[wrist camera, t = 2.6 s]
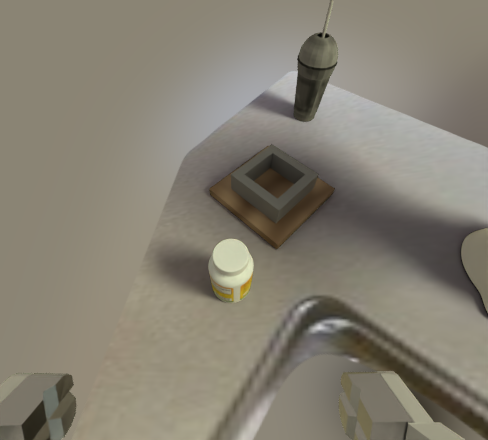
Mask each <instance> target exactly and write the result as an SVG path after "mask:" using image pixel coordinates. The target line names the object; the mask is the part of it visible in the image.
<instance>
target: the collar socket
mask: <svg viewBox="0 0 488 440" xmlns="http://www.w3.org/2000/svg"><path fill="white" fill-rule="evenodd" d="M318 175H319V174H317V173H316V172H314V171H313V170H311V169H309V168H308V167H306V166H305V165H303V164H302V163H300V162H298V161H297V160H295V159H294V158H292V157H291V156H289V155H288V154H286V153H284V152H283V151H281V150H280V149H278V148H277V147H275V146H273V145H272V144H271V145H270V146H267V147H266V148H264V149H263V150H262V151H260V152H259V153H258V154H256V155H255V156H254V157H252V158H251V159H249V160H248V161H247V162H245V163H244V164H243V165H241V166H240V167H238V168H237V169H236V170H234V171H233V172H232V173H230V174H229V175H228V176H226V177H225V178H223V179H222V180H221V181H219V182H218V183H217V184H215V185H214V186H212V187H211V188H210V189H209V190H210V195H211V196H213V197H214V198H215V199H216V200H218V201H219V202H220V203H221V204H222V205H224V206H225V207H226V208H227V209H228V210H230V211H231V212H232V213H233V214H234V215H236V216H237V217H238V218H239V219H240V220H242V221H243V222H244V223H245V224H247V225H248V226H249V227H250V228H251V229H253V230H254V231H255V232H256V233H257V234H259V235H260V236H261V237H262V238H263V239H265V240H266V241H267V242H268V243H269V244H271V245H272V246H273V247H274V248H276V249H278V248H279V247H280V246H281V245H282V244H283V243H284V242H285V241H286V240H287V239H288V238H289V237H290V236H291V235H292V234H293V233H294V232H295V231H296V230H297V229H298V228H299V227H300V226H301V225H302V224H303V223H304V222H305V221H306V220H307V219H308V218H309V217H310V216H311V215H312V214H313V213H314V212H315V211H316V210H317V209H318V208H319V207H320V206H321V205H322V204H323V203H324V202H325V201H326V200H327V199H328V198H329V197H330V196H331V195H332V194H333V192H334V189H335V188H333V187H331V186H330V185H328V184H327V183H325V182H324V181H322V180H321V179H319V178H318Z"/></svg>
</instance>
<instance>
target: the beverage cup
mask: <svg viewBox="0 0 488 440" xmlns="http://www.w3.org/2000/svg"><path fill="white" fill-rule="evenodd" d="M333 1H334V0H330V5H329V9H328V13H327V17H326V21H325V25H324V29H323V33H316V34H314V35H312V36H310V37H309V38H308V39H307V40H306V41H305V42H304V44H303V45H302V47H301V50H300V53H299V55H298V59H297V60H298V77H297V86H296V95H295V104H294V117H295V118H296V119H297V120H299V121H304V122H307V121H311V120H312V119H313V118H314V115H315V113H316V112H317V109H318V107H319V104H320V101H321V99H322V96H323V94H324V91H325V88H326V86H327V83H328V81H329V78H330V76H331V74H332V72H333V70H334V68H335V66H336V64H337V59H338V47H337V44H336V41H335V40H334V38H333V37H332V36H331V35H329V34H327V33H326V29H327V25H328V21H329V17H330V14H331V9H332V5H333Z"/></svg>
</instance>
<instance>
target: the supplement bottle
mask: <svg viewBox="0 0 488 440" xmlns="http://www.w3.org/2000/svg"><path fill="white" fill-rule="evenodd" d="M253 268H254V264H253V259H252V257H251V255H250V253H249V252H248V249H247V247H246V246H245V244H244V243H242V242H241V241H239V240H236V239H225V240H223V241H221V242H219V243H218V244H217V245H216V246H215V248H214V250H213V254H212V255H211V257H210V260H209V264H208V270H209V275H210V279H211V284H212V288H213V291H214V293H215V295H216V296H217V297H218V298H219V299H220V300H222V301H224V302H227V303H235V302H238V301H240V300H242V299H244V298H245V297H246V295H247V294H248V292H249V290H250V287H251V281H252V274H253Z"/></svg>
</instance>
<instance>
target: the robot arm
mask: <svg viewBox="0 0 488 440" xmlns="http://www.w3.org/2000/svg"><path fill="white" fill-rule="evenodd" d="M461 257H462V262H463V265H464V268H465V270H466V272H467V274H468V276H469V277H470V279H471V281H472V282H473V283H474V285H475V286H476V288H477V289H478V291H479V292H480V294H481V296H482V299H483V303H484V306H485V309H486V311H487V313H488V228H485V229H481V230H477V231H474V232H472V233H471V234H469V235H468V236H467V237H466V238H465V240H464V242H463V244H462V248H461ZM73 385H74V384H73V379H72V376H71V375H69V374H53V373H34V374H31V373H16V374H14V375H12V376H10V377H9V378H7V379H6V380H5V381H4V382H3V383H2V384H1V385H0V440H61V439H62V438H64V437H65V435H66V433H67V432H68V430H69V428H70V427H71V425H72V422H73V419H74V416H75V414H76V398H75V396H74V395H72V393H71V392H70V389H71V388H72V387H73ZM341 385H342V387H343V389H344V391H343V392H342V393H341V394H340V395H339V412H340V418H341V422H342V426H343V428H344V431H345V433H346V435H347V436H348V437H349V438H351V439H352V440H465V439H464V438H462V437H461V436H459V435H457V434H456V433H455V432H453V431H452V430H450V429H449V428H447V427H446V426H444V425H443V424H441V423H434V422H433V420H432V419H431V418H430V416H429V415H428V414H427V413H426V411H425V410H424V409H423V407H422V406H421V405H420V403H419V402H418V401H417V399H416V398H415V397H414V396H413V394H412V393H411V392H410V390H409V389H408V388H407V386H406V385H405V384H404V383H403V381H402V380H401V379H400V377H399V376H398V375H397V374H396V373H395V372H393V371H379V372H344V373H343V374H342V376H341Z"/></svg>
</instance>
